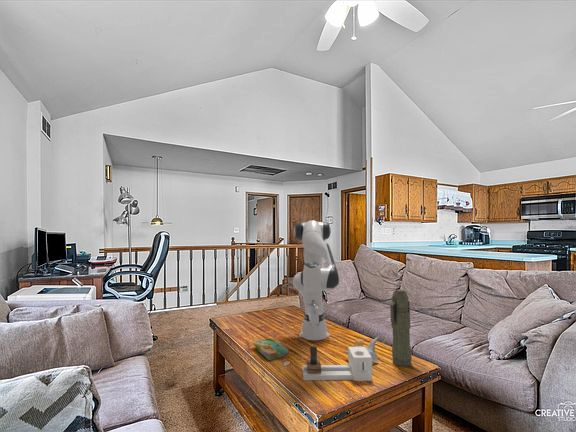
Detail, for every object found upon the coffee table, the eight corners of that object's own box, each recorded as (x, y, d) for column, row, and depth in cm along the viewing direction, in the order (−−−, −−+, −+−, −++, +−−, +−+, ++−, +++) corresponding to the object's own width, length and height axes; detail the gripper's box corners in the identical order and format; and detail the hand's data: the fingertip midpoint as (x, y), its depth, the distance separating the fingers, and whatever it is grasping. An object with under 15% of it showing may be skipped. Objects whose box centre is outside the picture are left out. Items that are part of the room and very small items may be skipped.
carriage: (306, 365, 143) (306, 344, 143) (319, 365, 143) (319, 344, 143) (307, 373, 136) (307, 350, 136) (321, 372, 136) (320, 350, 136)
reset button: (354, 343, 142) (353, 338, 142) (362, 342, 142) (362, 338, 142) (355, 346, 138) (355, 341, 138) (364, 346, 138) (364, 341, 138)
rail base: (302, 368, 145) (302, 347, 146) (365, 368, 145) (365, 346, 145) (303, 382, 132) (303, 358, 133) (372, 381, 132) (372, 358, 133)
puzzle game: (267, 352, 154) (252, 340, 172) (267, 362, 154) (252, 348, 171) (287, 348, 160) (271, 336, 177) (287, 357, 159) (271, 344, 177)
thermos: (386, 363, 150) (384, 291, 152) (401, 357, 157) (399, 288, 158) (402, 369, 143) (400, 294, 144) (417, 363, 150) (414, 291, 151)
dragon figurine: (353, 351, 166) (350, 334, 166) (381, 353, 160) (379, 335, 160) (347, 365, 152) (344, 347, 152) (378, 368, 146) (376, 349, 146)
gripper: (321, 303, 130) (322, 336, 130) (317, 293, 151) (318, 322, 150) (307, 303, 130) (307, 336, 130) (304, 293, 151) (305, 322, 150)
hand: (313, 328), depth 140 cm, fingers open, 8 cm apart
